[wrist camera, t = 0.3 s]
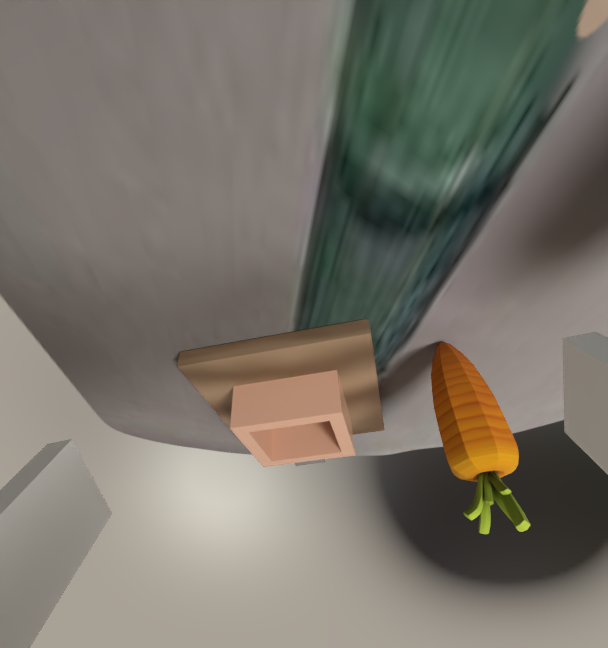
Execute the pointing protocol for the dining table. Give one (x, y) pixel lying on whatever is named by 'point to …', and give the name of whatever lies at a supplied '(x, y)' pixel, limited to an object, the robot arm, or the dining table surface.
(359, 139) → the dining table surface
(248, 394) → the pink square planter box
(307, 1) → the dining table surface
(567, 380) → the robot arm
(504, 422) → the carrot
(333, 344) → the walnut board
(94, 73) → the dining table surface
